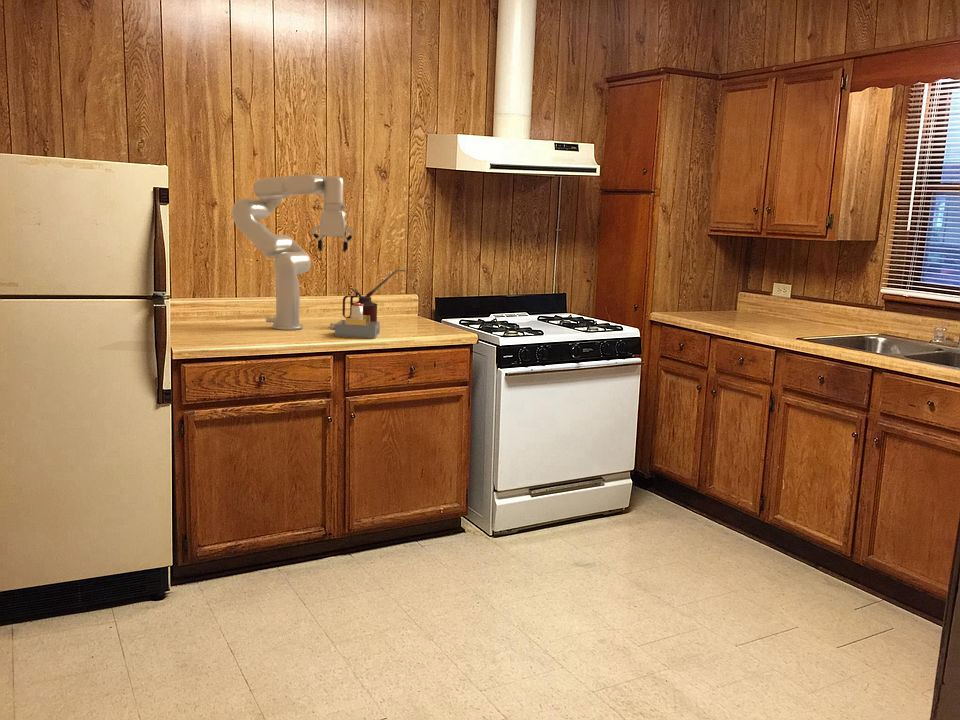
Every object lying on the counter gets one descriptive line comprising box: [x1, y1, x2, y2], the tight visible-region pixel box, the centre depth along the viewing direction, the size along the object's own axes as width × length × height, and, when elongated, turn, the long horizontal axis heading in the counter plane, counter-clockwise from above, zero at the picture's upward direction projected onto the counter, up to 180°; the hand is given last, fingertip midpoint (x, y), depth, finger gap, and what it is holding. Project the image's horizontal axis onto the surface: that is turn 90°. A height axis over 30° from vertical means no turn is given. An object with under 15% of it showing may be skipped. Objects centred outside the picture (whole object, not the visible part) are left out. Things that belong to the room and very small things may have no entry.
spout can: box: [351, 302, 363, 319], centre depth 340 cm, size 5×5×12 cm
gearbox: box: [329, 314, 381, 339], centre depth 340 cm, size 19×13×8 cm
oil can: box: [342, 269, 406, 322], centre depth 364 cm, size 28×11×25 cm, turn 117°
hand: (332, 251), depth 337 cm, fingers open, 9 cm apart
